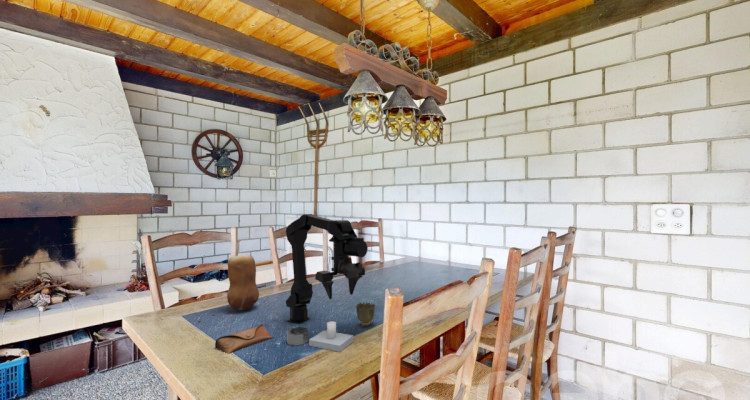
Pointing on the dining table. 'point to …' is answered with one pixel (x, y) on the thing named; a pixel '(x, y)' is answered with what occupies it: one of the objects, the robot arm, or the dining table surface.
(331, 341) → the shaft block
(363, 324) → the cup
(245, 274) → the butternut squash
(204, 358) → the dining table surface
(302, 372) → the dining table surface
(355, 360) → the dining table surface
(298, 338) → the hub ring
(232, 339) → the sunglasses case
